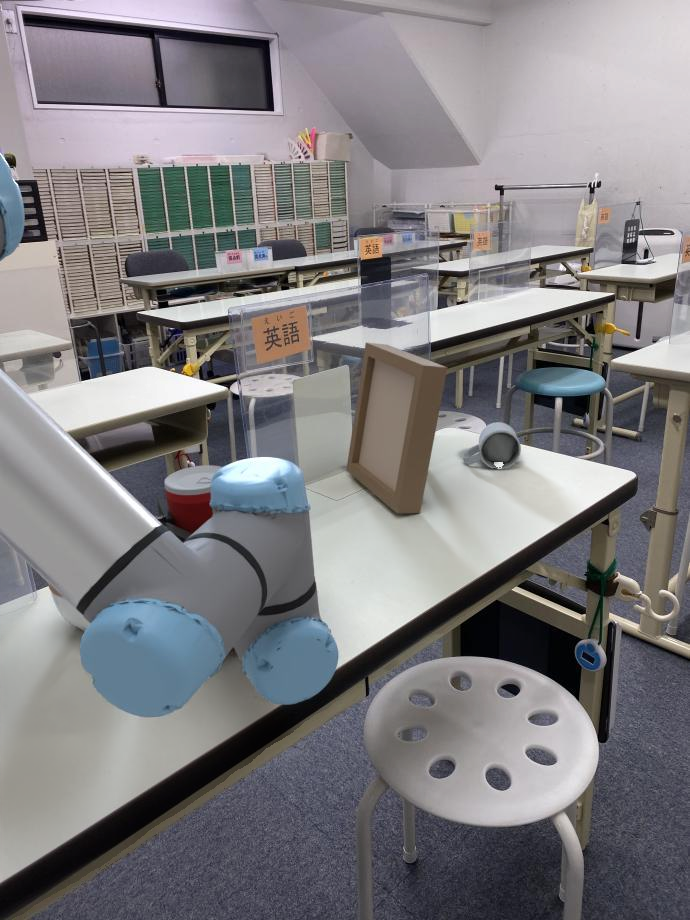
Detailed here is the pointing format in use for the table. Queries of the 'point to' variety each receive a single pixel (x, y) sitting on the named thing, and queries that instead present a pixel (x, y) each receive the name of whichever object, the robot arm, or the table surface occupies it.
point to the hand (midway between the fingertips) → (194, 500)
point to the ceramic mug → (495, 446)
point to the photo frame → (395, 425)
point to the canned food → (190, 496)
